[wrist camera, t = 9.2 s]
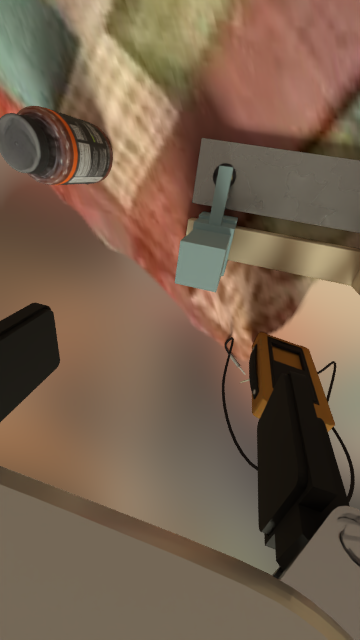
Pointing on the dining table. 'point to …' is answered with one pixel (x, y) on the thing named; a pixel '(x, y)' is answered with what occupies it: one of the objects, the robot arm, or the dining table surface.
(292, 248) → the trammel rail
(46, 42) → the dining table surface
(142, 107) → the dining table surface
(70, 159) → the supplement bottle
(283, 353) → the multimeter
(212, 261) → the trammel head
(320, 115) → the dining table surface
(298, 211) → the flange plate
